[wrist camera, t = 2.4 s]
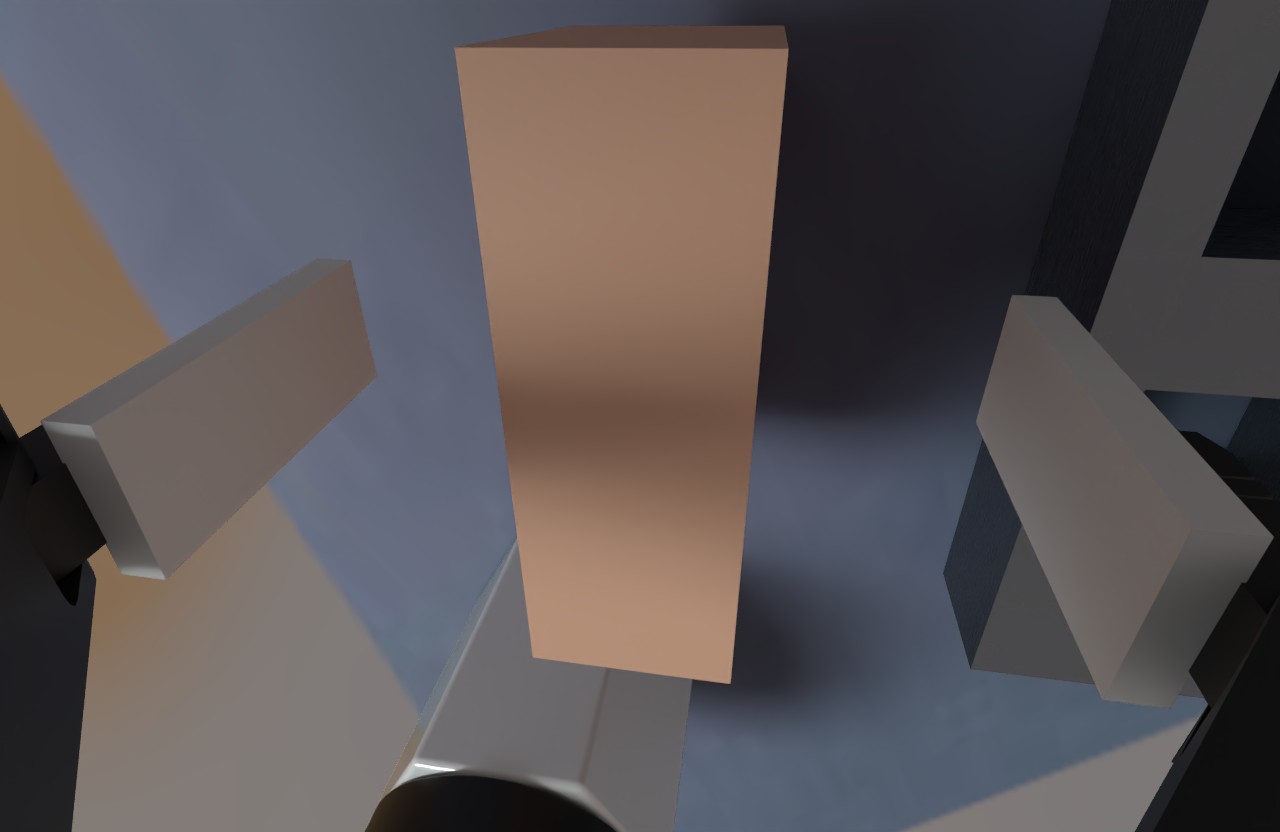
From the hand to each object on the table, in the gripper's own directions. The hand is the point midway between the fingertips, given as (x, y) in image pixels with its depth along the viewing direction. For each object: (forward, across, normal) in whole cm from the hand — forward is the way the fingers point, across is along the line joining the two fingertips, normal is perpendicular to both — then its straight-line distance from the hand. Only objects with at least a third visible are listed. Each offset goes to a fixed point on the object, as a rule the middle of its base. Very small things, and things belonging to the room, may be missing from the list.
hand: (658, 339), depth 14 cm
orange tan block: (+6, 0, 0) cm, 6 cm away
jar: (+6, -4, -15) cm, 17 cm away
